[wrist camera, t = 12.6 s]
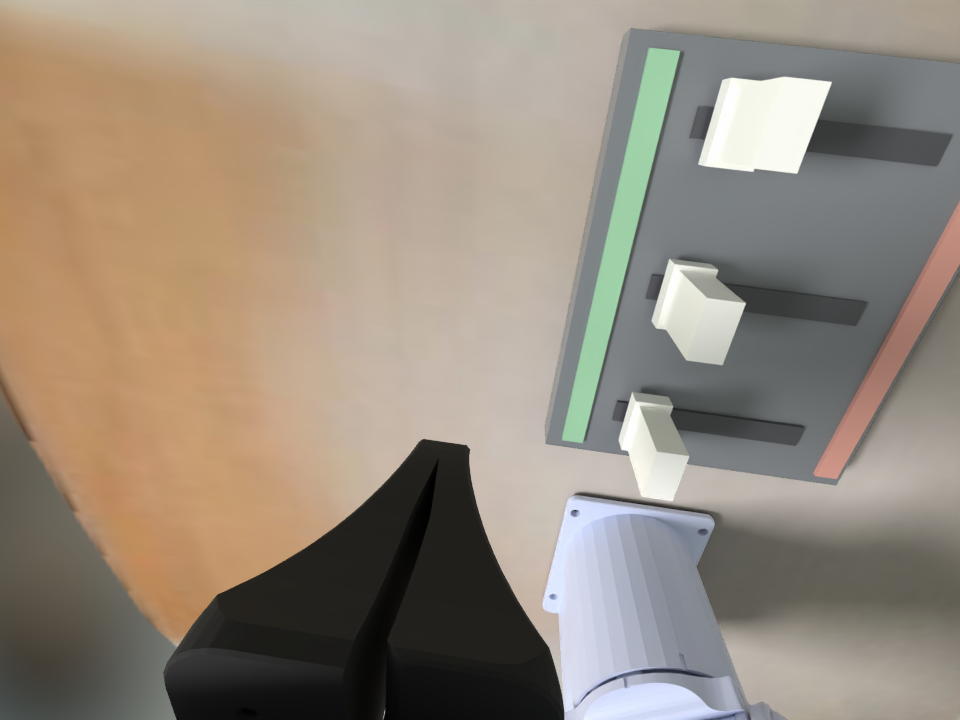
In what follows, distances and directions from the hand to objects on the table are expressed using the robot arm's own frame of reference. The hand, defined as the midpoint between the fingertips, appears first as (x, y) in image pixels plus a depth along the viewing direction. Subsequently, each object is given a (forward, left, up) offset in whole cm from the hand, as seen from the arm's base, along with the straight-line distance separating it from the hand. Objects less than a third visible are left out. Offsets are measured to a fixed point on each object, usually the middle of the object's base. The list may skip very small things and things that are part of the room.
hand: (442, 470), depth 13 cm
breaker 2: (+9, -8, -8) cm, 15 cm away
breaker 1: (-2, -8, -8) cm, 12 cm away
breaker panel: (+4, -11, -10) cm, 16 cm away
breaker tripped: (+3, -8, -8) cm, 12 cm away
